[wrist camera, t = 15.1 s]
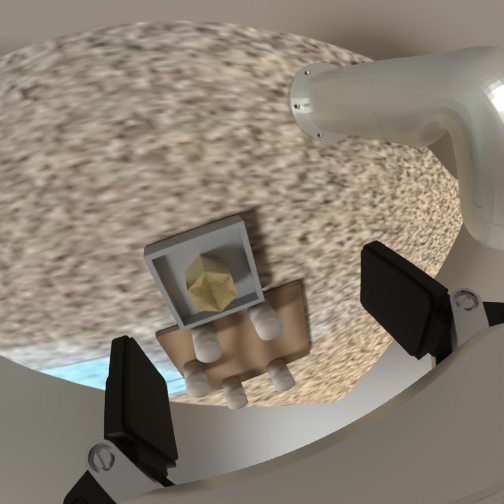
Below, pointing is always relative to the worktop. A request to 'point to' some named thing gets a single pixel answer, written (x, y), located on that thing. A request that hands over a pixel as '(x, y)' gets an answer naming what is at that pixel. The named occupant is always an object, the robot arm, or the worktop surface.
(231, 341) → the board
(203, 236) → the tray
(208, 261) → the faceted yellow gem
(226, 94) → the worktop surface
